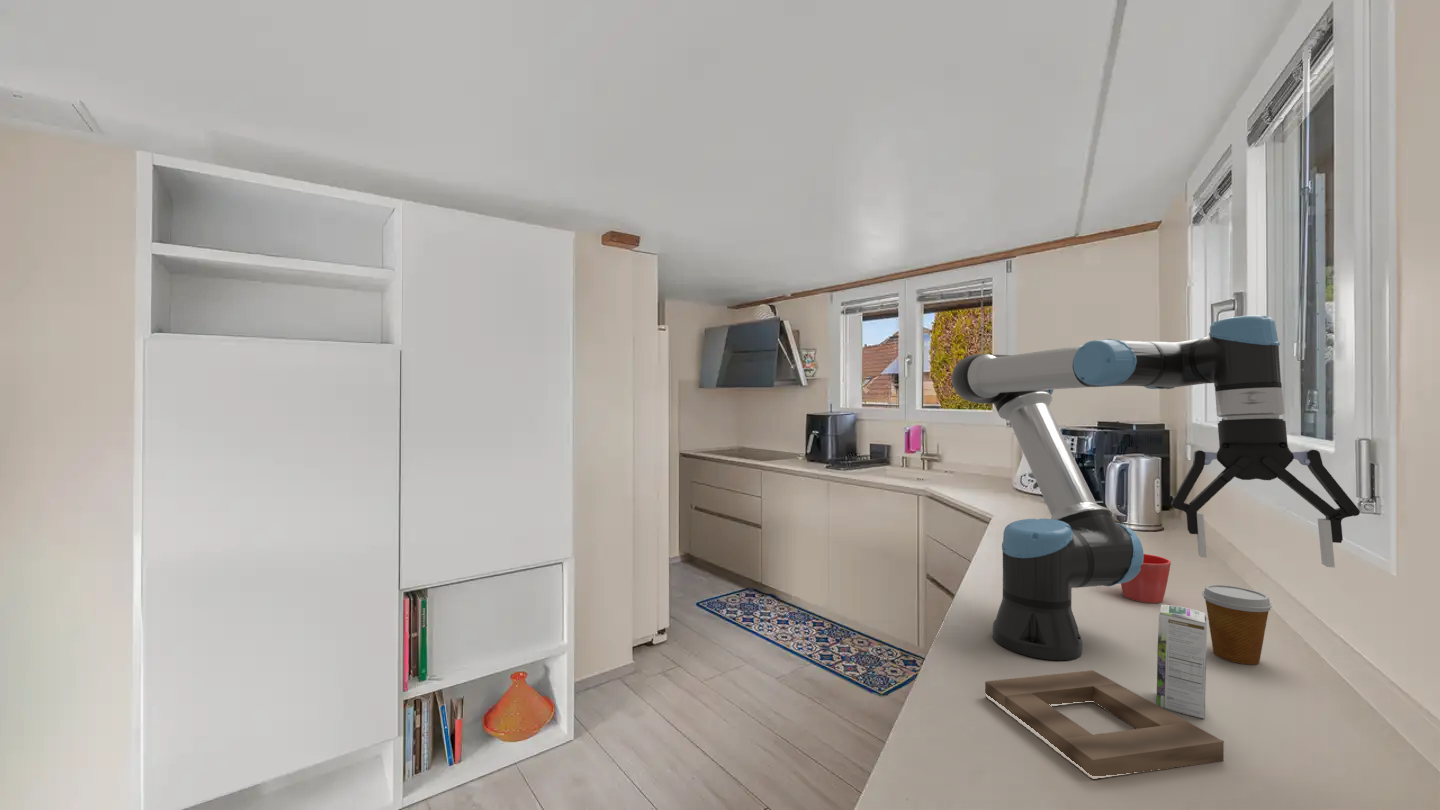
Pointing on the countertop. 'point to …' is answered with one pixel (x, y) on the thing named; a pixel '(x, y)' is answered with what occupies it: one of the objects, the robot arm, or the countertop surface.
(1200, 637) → the syrup box
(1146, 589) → the flower pot
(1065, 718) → the wooden square frame
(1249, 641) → the disposable coffee cup
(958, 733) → the countertop surface
